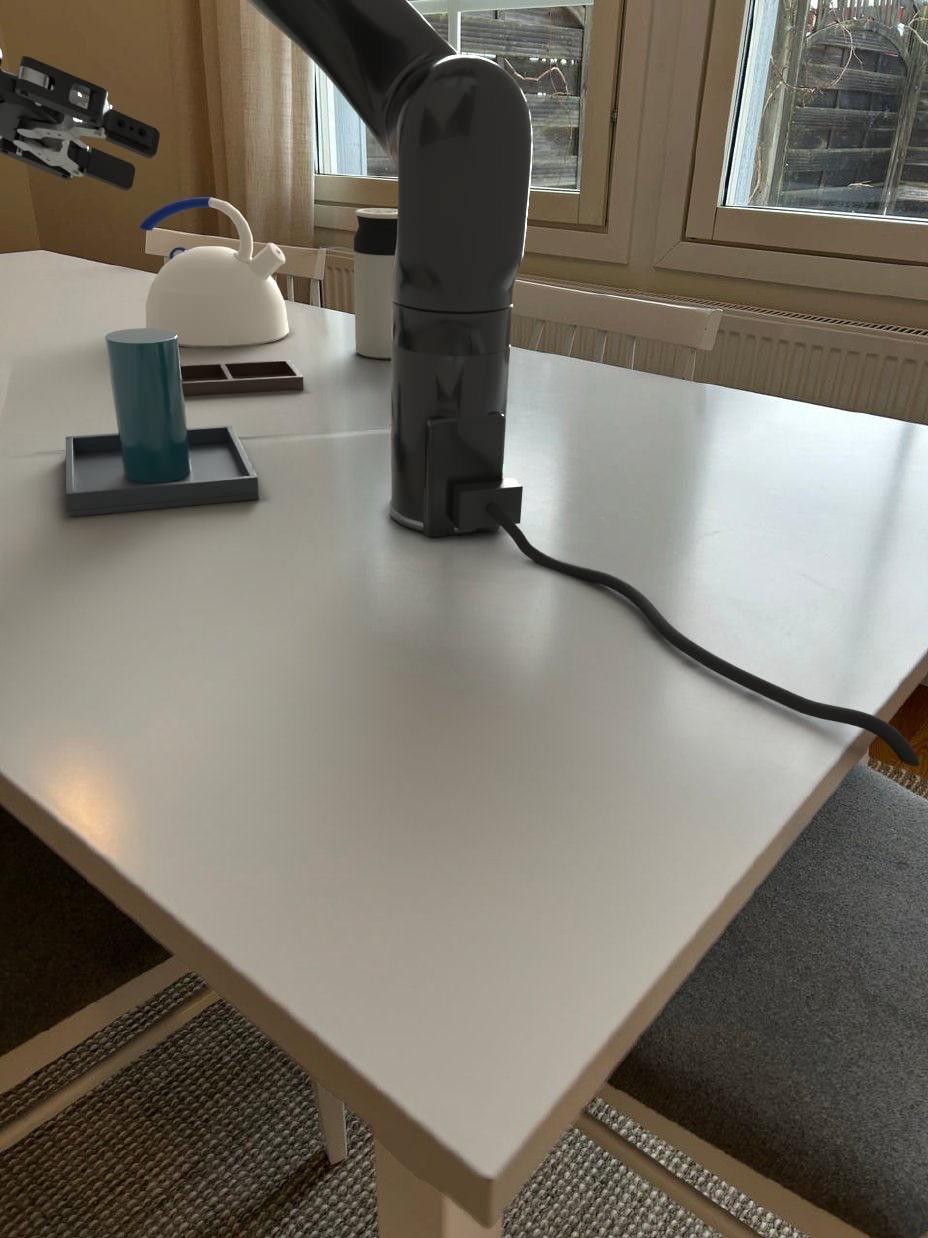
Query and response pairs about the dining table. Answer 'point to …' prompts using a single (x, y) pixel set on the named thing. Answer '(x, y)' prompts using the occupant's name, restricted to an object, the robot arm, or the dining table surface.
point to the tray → (107, 490)
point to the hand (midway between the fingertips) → (144, 163)
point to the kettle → (217, 288)
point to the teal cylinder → (149, 404)
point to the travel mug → (374, 280)
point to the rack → (240, 378)
